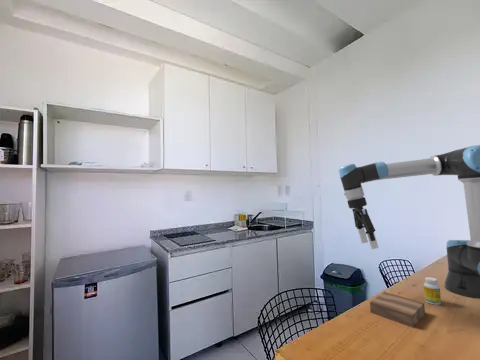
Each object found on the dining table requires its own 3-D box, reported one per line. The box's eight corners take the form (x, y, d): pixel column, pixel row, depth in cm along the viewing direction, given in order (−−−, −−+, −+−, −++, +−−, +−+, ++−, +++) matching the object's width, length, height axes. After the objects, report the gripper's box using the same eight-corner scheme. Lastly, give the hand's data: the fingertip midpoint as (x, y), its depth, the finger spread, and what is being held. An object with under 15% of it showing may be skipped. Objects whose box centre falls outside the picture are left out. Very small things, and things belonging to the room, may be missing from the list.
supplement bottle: (427, 298, 104) (426, 275, 105) (443, 302, 100) (441, 279, 100) (422, 301, 101) (420, 278, 102) (438, 306, 97) (436, 282, 97)
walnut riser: (384, 301, 102) (384, 291, 102) (425, 313, 91) (424, 302, 92) (370, 312, 94) (369, 301, 94) (412, 327, 83) (412, 315, 83)
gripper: (341, 200, 121) (353, 242, 118) (354, 200, 97) (369, 253, 94) (356, 196, 120) (369, 239, 117) (373, 196, 95) (390, 249, 93)
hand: (369, 245), depth 105 cm, fingers open, 13 cm apart
